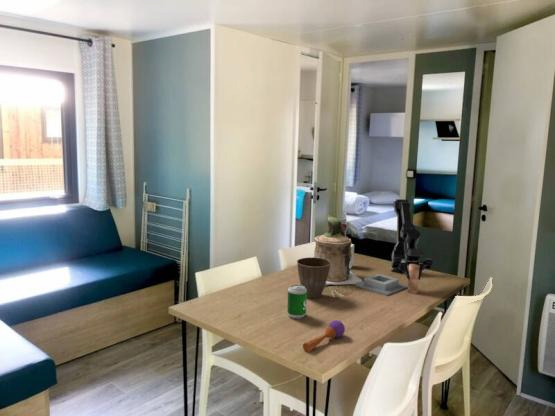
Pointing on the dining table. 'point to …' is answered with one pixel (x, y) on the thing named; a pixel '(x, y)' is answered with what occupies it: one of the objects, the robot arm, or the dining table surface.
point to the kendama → (326, 335)
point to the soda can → (297, 301)
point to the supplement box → (352, 256)
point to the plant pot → (313, 275)
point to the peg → (413, 278)
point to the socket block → (381, 284)
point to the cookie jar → (336, 253)
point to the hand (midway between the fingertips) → (414, 279)
